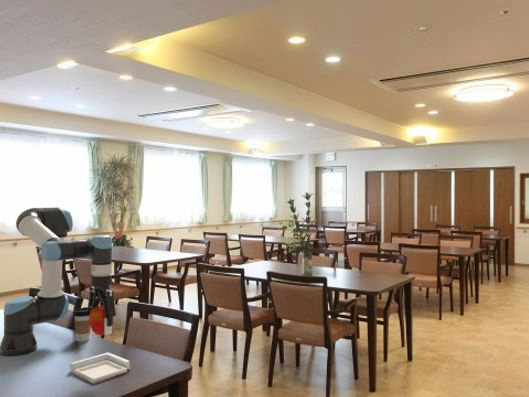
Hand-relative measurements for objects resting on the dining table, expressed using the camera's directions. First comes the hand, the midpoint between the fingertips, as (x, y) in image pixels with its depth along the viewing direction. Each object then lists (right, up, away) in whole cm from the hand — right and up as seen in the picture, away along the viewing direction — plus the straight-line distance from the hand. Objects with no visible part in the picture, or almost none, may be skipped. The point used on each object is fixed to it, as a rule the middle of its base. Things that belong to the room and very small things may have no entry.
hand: (101, 331), depth 180 cm
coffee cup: (-24, -17, +43) cm, 52 cm away
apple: (0, -1, 0) cm, 1 cm away
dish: (0, -16, 0) cm, 16 cm away
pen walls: (-2, -16, +3) cm, 17 cm away
